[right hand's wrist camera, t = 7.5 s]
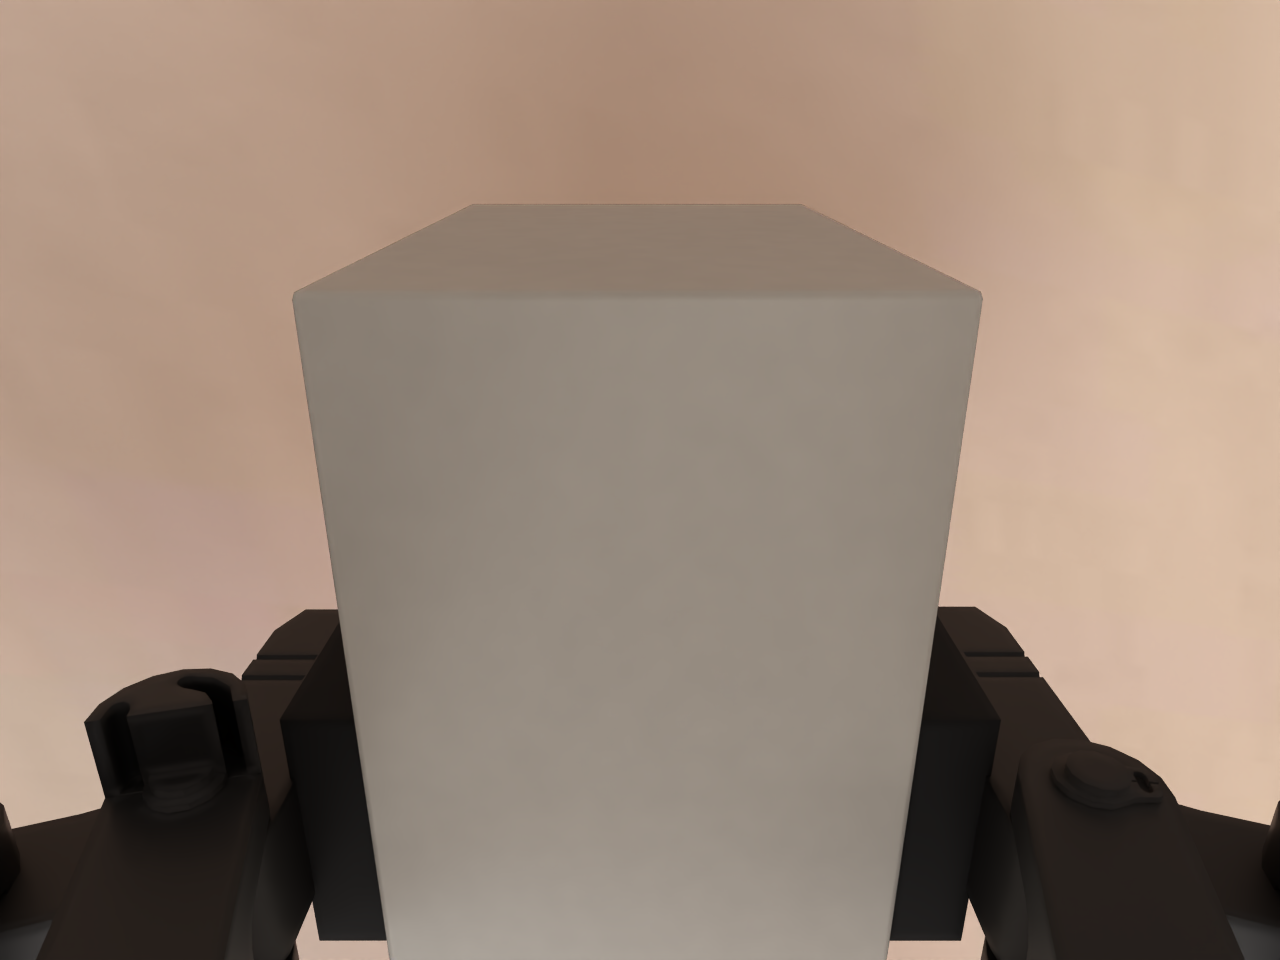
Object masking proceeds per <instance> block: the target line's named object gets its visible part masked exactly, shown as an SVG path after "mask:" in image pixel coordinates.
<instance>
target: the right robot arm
mask: <svg viewBox="0 0 1280 960" xmlns="http://www.w3.org/2000/svg"><path fill="white" fill-rule="evenodd" d="M84 724H85V727H86V731H87V735H88V738H89V742H90V745H91V749H92V752H93V756H94V759H95V763H96V767H97V770H98V774H99V777H100V781H101V784H102V788H103V792H104V795H105V800H104V802H103V805H102V807H101V809H97V810H94V811H90V812H87V813H83V814H79V815H74V816H70V817H65V818H61V819H56V820H51V821H47V822H42V823H37V824H33V825H28V826H24V827H19V828H14V829H11V826H10V823H9V820H8V817H7V814H6V811H5V808H4V805H2V804H1V803H0V960H299V956H298V951H297V945H296V938H297V936H298V933H299V931H300V929H301V926H302V924H303V922H304V919H305V917H306V914H307V912H308V910H309V907H310V905H311V903H312V901H313V907H314V912H315V918H316V923H317V929H318V934H319V940H320V941H339V940H387V938H386V931H385V925H384V918H383V911H382V904H381V897H380V891H379V884H378V877H377V870H376V864H375V857H374V850H373V843H372V836H371V830H370V823H369V816H368V809H367V803H366V796H365V789H364V782H363V775H362V769H361V762H360V755H359V748H358V742H357V735H356V728H355V721H354V714H353V708H352V701H351V694H350V687H349V681H348V674H347V667H346V660H345V653H344V647H343V640H342V633H341V626H340V620H339V613H338V610H304V611H303V612H301V613H300V614H298V615H297V616H295V617H294V618H292V619H291V620H289V621H288V622H287V623H285V624H284V625H282V626H281V627H279V628H278V629H276V630H275V631H274V632H273V633H272V635H271V636H270V638H269V639H268V640H267V642H266V643H265V644H264V646H263V647H262V648H261V650H260V651H259V653H258V654H257V659H256V660H253V661H252V662H251V664H250V665H249V666H248V668H247V669H246V670H245V672H244V673H243V674H242V680H240V679H239V678H237V677H236V676H235V675H234V674H232V673H228V672H223V671H219V670H215V669H183V670H179V671H174V672H170V673H165V674H161V675H156V676H152V677H150V678H147V679H145V680H142V681H140V682H138V683H135V684H133V685H130V686H128V687H125V688H123V689H122V690H120V691H119V692H117V693H116V694H114V695H113V696H111V697H110V698H108V699H107V700H105V701H103V702H102V703H100V704H99V705H98V706H97V708H96V709H95V710H94V711H93V712H92V713H91V715H90V716H89V717H88V718H87V719H86V721H85V722H84ZM968 899H970V902H971V904H972V906H973V909H974V911H975V913H976V916H977V918H978V920H979V923H980V925H981V927H982V930H983V932H984V934H985V940H984V945H983V951H982V956H981V960H1280V801H1279V802H1278V804H1277V807H1276V810H1275V813H1274V816H1273V819H1272V822H1271V825H1265V824H1261V823H1256V822H1251V821H1247V820H1242V819H1238V818H1233V817H1228V816H1224V815H1219V814H1214V813H1210V812H1205V811H1200V810H1197V809H1193V808H1190V807H1186V806H1183V805H1179V804H1178V803H1177V801H1176V798H1175V796H1174V795H1173V794H1172V792H1171V791H1170V789H1169V788H1168V787H1167V785H1166V784H1165V782H1164V781H1163V780H1162V778H1161V777H1160V776H1158V775H1157V774H1156V773H1154V772H1153V771H1152V770H1150V769H1149V768H1148V767H1146V766H1145V765H1144V764H1142V763H1141V762H1140V761H1139V760H1137V759H1135V758H1132V757H1130V756H1128V755H1126V754H1124V753H1122V752H1120V751H1118V750H1115V749H1113V748H1111V747H1108V746H1104V745H1100V744H1096V743H1092V742H1090V741H1089V739H1088V738H1087V736H1086V735H1085V734H1084V732H1083V731H1082V730H1081V728H1080V727H1079V726H1078V724H1077V723H1076V722H1075V720H1074V719H1073V717H1072V716H1071V715H1070V713H1069V712H1068V711H1067V709H1066V708H1065V707H1064V705H1063V704H1062V702H1061V701H1060V700H1059V698H1058V697H1057V696H1056V694H1055V693H1054V692H1053V690H1052V689H1051V688H1050V686H1049V685H1048V683H1047V682H1046V681H1045V679H1044V678H1043V677H1039V671H1038V670H1037V669H1036V667H1035V666H1034V664H1033V663H1032V662H1031V660H1030V659H1029V658H1028V657H1025V656H1024V651H1023V650H1022V648H1021V647H1020V645H1019V644H1018V643H1017V641H1016V640H1015V639H1014V637H1013V636H1012V635H1011V633H1010V632H1009V631H1008V629H1007V628H1006V627H1005V626H1003V625H1002V624H1000V623H999V622H997V621H996V620H994V619H993V618H991V617H990V616H988V615H987V614H985V613H984V612H982V611H981V610H979V609H978V608H976V607H938V610H937V617H936V624H935V630H934V637H933V644H932V651H931V658H930V665H929V672H928V679H927V685H926V692H925V699H924V706H923V713H922V720H921V727H920V734H919V740H918V747H917V754H916V761H915V768H914V775H913V782H912V789H911V796H910V802H909V809H908V816H907V823H906V830H905V837H904V844H903V851H902V857H901V864H900V871H899V878H898V885H897V892H896V899H895V906H894V912H893V919H892V926H891V933H890V940H889V941H961V938H962V932H963V927H964V921H965V916H966V910H967V905H968Z"/></svg>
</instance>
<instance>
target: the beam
mask: <svg viewBox="0 0 1280 960" xmlns="http://www.w3.org/2000/svg"><path fill="white" fill-rule="evenodd" d="M982 300H983V298H982V295H981V292H980V291H978V290H976V289H974V288H972V287H970V286H968V285H966V284H964V283H962V282H960V281H958V280H956V279H954V278H951V277H949V276H947V275H945V274H943V273H941V272H939V271H937V270H935V269H933V268H931V267H929V266H927V265H925V264H923V263H921V262H919V261H917V260H915V259H913V258H910V257H908V256H906V255H904V254H902V253H900V252H898V251H896V250H894V249H892V248H890V247H888V246H886V245H884V244H882V243H880V242H878V241H876V240H874V239H872V238H869V237H867V236H865V235H863V234H861V233H859V232H857V231H855V230H853V229H851V228H849V227H847V226H845V225H843V224H841V223H839V222H837V221H835V220H833V219H831V218H828V217H826V216H824V215H822V214H820V213H818V212H816V211H814V210H812V209H810V208H808V207H806V206H804V205H802V204H473V205H470V206H468V207H466V208H464V209H462V210H460V211H458V212H456V213H454V214H452V215H450V216H448V217H446V218H444V219H442V220H440V221H438V222H436V223H434V224H432V225H430V226H428V227H426V228H424V229H422V230H420V231H418V232H416V233H413V234H411V235H409V236H407V237H405V238H403V239H401V240H399V241H397V242H395V243H393V244H391V245H389V246H387V247H385V248H383V249H381V250H379V251H377V252H375V253H373V254H371V255H369V256H367V257H365V258H363V259H361V260H359V261H357V262H355V263H353V264H351V265H349V266H347V267H344V268H342V269H340V270H338V271H336V272H334V273H332V274H330V275H328V276H326V277H324V278H322V279H320V280H318V281H316V282H314V283H312V284H310V285H308V286H306V287H304V288H302V289H300V290H298V291H296V292H294V295H293V299H292V301H293V308H294V315H295V321H296V328H297V335H298V342H299V348H300V355H301V362H302V369H303V376H304V382H305V389H306V396H307V403H308V409H309V416H310V423H311V430H312V437H313V443H314V450H315V457H316V464H317V470H318V477H319V484H320V491H321V498H322V504H323V511H324V518H325V525H326V531H327V538H328V545H329V552H330V559H331V565H332V572H333V579H334V586H335V592H336V599H337V606H338V613H339V620H340V626H341V633H342V640H343V647H344V653H345V660H346V667H347V674H348V681H349V687H350V694H351V701H352V708H353V714H354V721H355V728H356V735H357V742H358V748H359V755H360V762H361V769H362V775H363V782H364V789H365V796H366V803H367V809H368V816H369V823H370V830H371V836H372V843H373V850H374V857H375V864H376V870H377V877H378V884H379V891H380V897H381V904H382V911H383V918H384V925H385V931H386V938H387V945H388V952H389V958H390V960H887V954H888V947H889V940H890V933H891V926H892V919H893V912H894V906H895V899H896V892H897V885H898V878H899V871H900V864H901V857H902V851H903V844H904V837H905V830H906V823H907V816H908V809H909V802H910V796H911V789H912V782H913V775H914V768H915V761H916V754H917V747H918V740H919V734H920V727H921V720H922V713H923V706H924V699H925V692H926V685H927V679H928V672H929V665H930V658H931V651H932V644H933V637H934V630H935V624H936V617H937V610H938V603H939V596H940V589H941V582H942V575H943V568H944V562H945V555H946V548H947V541H948V534H949V527H950V520H951V513H952V507H953V500H954V493H955V486H956V479H957V472H958V465H959V458H960V452H961V445H962V438H963V431H964V424H965V417H966V410H967V403H968V396H969V390H970V383H971V376H972V369H973V362H974V355H975V348H976V341H977V335H978V328H979V321H980V314H981V307H982Z"/></svg>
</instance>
